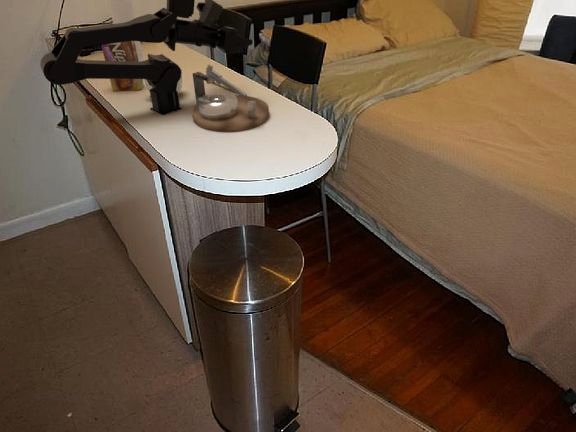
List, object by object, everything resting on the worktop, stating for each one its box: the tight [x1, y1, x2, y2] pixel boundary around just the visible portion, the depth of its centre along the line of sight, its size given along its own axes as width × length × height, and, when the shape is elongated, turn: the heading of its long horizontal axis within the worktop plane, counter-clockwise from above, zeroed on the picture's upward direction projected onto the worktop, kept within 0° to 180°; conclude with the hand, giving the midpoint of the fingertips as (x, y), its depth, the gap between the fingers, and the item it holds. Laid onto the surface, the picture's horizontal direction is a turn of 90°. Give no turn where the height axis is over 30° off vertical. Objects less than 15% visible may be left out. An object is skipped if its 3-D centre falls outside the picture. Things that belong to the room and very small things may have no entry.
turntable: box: [191, 94, 270, 133], centre depth 114 cm, size 20×20×6 cm
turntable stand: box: [192, 71, 212, 105], centre depth 115 cm, size 21×24×9 cm
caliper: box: [205, 64, 248, 96], centre depth 132 cm, size 20×1×6 cm, turn 43°
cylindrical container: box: [107, 0, 145, 62], centre depth 141 cm, size 7×7×25 cm
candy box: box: [100, 41, 145, 92], centre depth 131 cm, size 9×4×15 cm, turn 96°
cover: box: [197, 92, 238, 121], centre depth 111 cm, size 10×10×4 cm
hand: (244, 39), depth 122 cm, fingers open, 9 cm apart
